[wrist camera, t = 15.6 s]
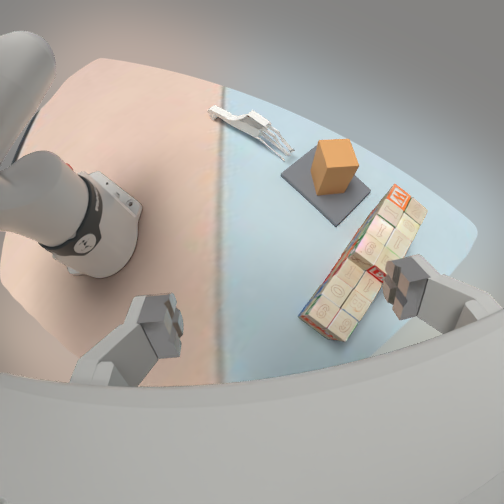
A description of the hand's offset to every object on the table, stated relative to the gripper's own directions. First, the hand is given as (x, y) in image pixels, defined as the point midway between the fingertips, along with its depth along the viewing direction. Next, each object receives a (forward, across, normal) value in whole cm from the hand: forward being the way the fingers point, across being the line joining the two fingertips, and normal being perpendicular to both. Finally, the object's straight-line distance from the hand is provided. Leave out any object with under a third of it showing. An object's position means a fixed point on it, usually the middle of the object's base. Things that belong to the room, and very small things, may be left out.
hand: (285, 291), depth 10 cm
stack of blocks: (+27, -14, +20) cm, 37 cm away
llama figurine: (+48, -2, 0) cm, 48 cm away
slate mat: (+38, -14, +8) cm, 42 cm away
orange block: (+38, -14, +8) cm, 41 cm away
